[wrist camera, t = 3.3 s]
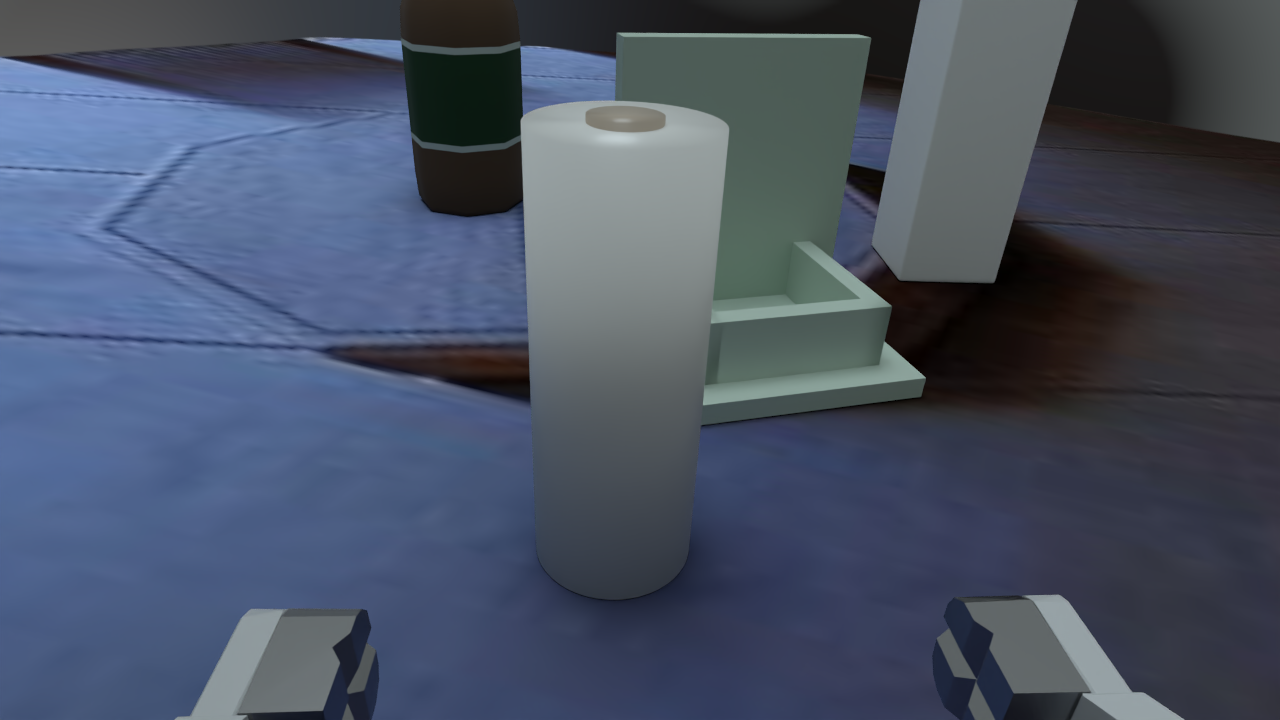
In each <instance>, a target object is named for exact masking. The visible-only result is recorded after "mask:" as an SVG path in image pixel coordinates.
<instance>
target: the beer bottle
mask: <svg viewBox="0 0 1280 720" xmlns="http://www.w3.org/2000/svg"><path fill="white" fill-rule="evenodd" d="M400 21H401V22H400V23H401V42H402V52H403V61H404V70H405V80H406V89H407V98H408V108H409V117H410V126H411V136H412V145H413V155H414V164H415V172H416V178H417V184H418V190H419V195H420V196H421V198H422V199H423V201H424V202H425V203H426V204H427V205H428V206H429V208H430V209H431V210H432V211H436V212H442V213H449V214H456V215H462V216H474V215H482V214H490V213H498V212H505V211H507V210H508V209H510V208H511V207H513V206H514V205H516V204H517V203H518V202H520V201H521V200H522V199H523V173H522V146H521V119H522V117H523V107H522V79H521V51H520V35H519V26H518V17H517V10H516V7H515V5H514V2H513V0H402V1H401V6H400Z"/></svg>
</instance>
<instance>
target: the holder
mask: <svg viewBox="0 0 1280 720" xmlns="http://www.w3.org/2000/svg"><path fill="white" fill-rule="evenodd" d="M870 41H871V38H869V37H865V36H861V35H849V34H845V35H844V34H703V33H702V34H700V33H699V34H697V33H617V46H616V89H615V101H633V102H647V103H657V104H666V105H672V106H678V107H684V108H689V109H693V110H697V111H701V112H704V113H707V114H710V115H713V116H715V117H717V118H719V119H721V120H723V121H724V122H725V123H726V124H727V125H728V126H729V138H728V148H727V159H726V169H725V179H724V190H723V200H722V211H721V221H720V231H719V242H718V252H717V263H716V273H715V283H714V294H713V304H712V315H711V325H710V335H709V346H708V356H707V367H706V377H705V388H704V398H703V408H702V419H701V425H707V424H714V423H722V422H730V421H738V420H745V419H753V418H761V417H768V416H776V415H784V414H791V413H799V412H807V411H814V410H822V409H830V408H838V407H845V406H853V405H861V404H868V403H876V402H884V401H891V400H899V399H907V398H915V397H921V395H922V391H923V387H924V383H925V379H926V378H925V377H924V376H923V375H922V374H921V373H920V372H919V371H917V370H916V369H915V368H914V367H913V366H912V365H911V364H909V363H908V362H907V361H906V360H905V359H904V358H903V357H901V356H900V355H899V354H898V353H897V352H896V351H895V350H894V349H892V348H891V347H890V346H889V345H888V344H887V343H886V342H884V340H885V336H886V331H887V327H888V322H889V318H890V314H891V309H892V306H891V305H890V304H888V303H887V302H886V301H885V300H883V299H882V298H881V297H880V296H878V295H877V294H876V293H875V292H873V291H872V290H871V289H870V288H868V287H867V286H866V285H865V284H863V283H862V282H861V281H860V280H858V279H857V278H856V277H855V276H853V275H852V274H851V273H850V272H848V271H847V270H846V269H845V268H843V267H842V266H841V265H839V264H838V263H837V262H836V261H834V260H833V259H832V257H833V252H834V246H835V240H836V235H837V229H838V223H839V218H840V212H841V206H842V201H843V195H844V189H845V184H846V178H847V172H848V167H849V161H850V155H851V150H852V144H853V138H854V133H855V127H856V121H857V116H858V110H859V104H860V99H861V93H862V87H863V82H864V76H865V70H866V64H867V59H868V53H869V47H870Z"/></svg>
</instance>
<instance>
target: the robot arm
mask: <svg viewBox="0 0 1280 720" xmlns="http://www.w3.org/2000/svg"><path fill="white" fill-rule="evenodd" d="M944 618H945V620H946V623H947V625H948V627H949V629H948V630H947V631H945V632H944V633H943V634H942V635H941V636H939V637H938V638H937V639H936V643H935V647H934V651H933V655H932V660H933V676H934V680H935V684H936V688H937V691H938V693H939V696H940V698H941V701H942V703H943V705H944V707H945V708H946V709H947V710H948V711H950V712H951V713H952V714H953V715H955V716H956V717H957V718H958V719H959V720H1184V719H1182V718H1181V717H1179V716H1178V715H1176V714H1175V713H1173V712H1172V711H1170V710H1169V709H1167V708H1166V707H1164V706H1163V705H1161V704H1160V703H1158V702H1157V701H1155V700H1154V699H1152V698H1151V697H1149V696H1148V695H1146V694H1145V693H1143V692H1132V691H1131V690H1130V688H1129V687H1128V685H1127V684H1126V683H1125V681H1124V680H1123V678H1122V677H1121V676H1120V674H1119V673H1118V671H1117V670H1116V668H1115V667H1114V666H1113V664H1112V663H1111V661H1110V660H1109V659H1108V657H1107V656H1106V654H1105V653H1104V651H1103V650H1102V649H1101V647H1100V646H1099V644H1098V643H1097V641H1096V640H1095V639H1094V637H1093V636H1092V634H1091V633H1090V632H1089V630H1088V629H1087V627H1086V626H1085V624H1084V623H1083V622H1082V620H1081V619H1080V617H1079V616H1078V615H1077V613H1076V612H1075V610H1074V609H1073V607H1072V606H1071V605H1070V603H1069V602H1068V601H1067V600H1066V599H1064V598H1063V597H1062V596H1060V595H1033V596H986V597H954V598H953V599H952V600H951V601H950V602H949V603H948V605H947V608H946V611H945V614H944ZM370 630H371V624H370V620H369V617H368V613H367V610H363V609H250V610H249V611H248V612H247V613H246V614H245V615H244V616H243V617H242V618H241V619H240V621H239V623H238V624H237V626H236V628H235V630H234V632H233V634H232V636H231V638H230V640H229V642H228V644H227V646H226V648H225V650H224V652H223V653H222V655H221V657H220V659H219V661H218V663H217V665H216V667H215V669H214V671H213V673H212V675H211V677H210V679H209V681H208V682H207V684H206V686H205V688H204V690H203V692H202V694H201V696H200V698H199V700H198V702H197V704H196V706H195V708H194V710H193V711H192V713H191V715H190V716H185V717H177V718H176V719H175V720H372V716H373V712H374V708H375V705H376V700H377V691H378V683H379V665H378V658H377V653H376V650H375V649H374V648H372V647H371V646H370V645H369V644H368V643H367V640H368V637H369V633H370Z"/></svg>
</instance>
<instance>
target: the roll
mask: <svg viewBox="0 0 1280 720" xmlns="http://www.w3.org/2000/svg"><path fill="white" fill-rule="evenodd" d="M728 138H729V126H728V125H727V124H726V123H725V122H724V121H723V120H721V119H719V118H717V117H715V116H713V115H710V114H707V113H704V112H701V111H697V110H693V109H689V108H684V107H678V106H672V105H666V104H657V103H647V102H633V101H585V102H572V103H564V104H557V105H551V106H547V107H542V108H539V109H536V110H533V111H531V112H529V113H527V114H525V115H524V116H523V117H522V119H521V146H522V173H523V201H524V228H525V255H526V283H527V310H528V338H529V365H530V393H531V420H532V447H533V475H534V502H535V530H536V551H537V555H538V559H539V561H540V563H541V565H542V567H543V568H544V570H545V571H546V573H547V574H548V575H549V576H550V577H551V578H552V579H553V580H555V581H556V582H557V583H558V584H560V585H562V586H563V587H565V588H566V589H568V590H571V591H573V592H575V593H578V594H581V595H584V596H587V597H592V598H597V599H606V600H621V599H630V598H635V597H640V596H643V595H646V594H649V593H652V592H654V591H656V590H658V589H660V588H662V587H663V586H665V585H667V584H668V583H669V582H670V581H672V580H673V579H674V578H675V577H676V576H677V575H678V574H679V573H680V571H681V570H682V568H683V567H684V565H685V562H686V560H687V557H688V553H689V544H690V533H691V523H692V512H693V502H694V492H695V481H696V471H697V460H698V450H699V440H700V429H701V419H702V408H703V398H704V388H705V377H706V367H707V356H708V346H709V335H710V325H711V315H712V304H713V294H714V283H715V273H716V263H717V252H718V242H719V231H720V221H721V211H722V200H723V190H724V179H725V169H726V159H727V148H728Z"/></svg>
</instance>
